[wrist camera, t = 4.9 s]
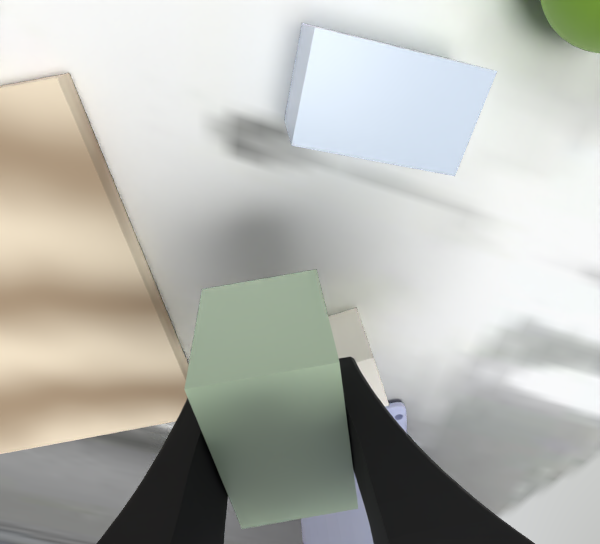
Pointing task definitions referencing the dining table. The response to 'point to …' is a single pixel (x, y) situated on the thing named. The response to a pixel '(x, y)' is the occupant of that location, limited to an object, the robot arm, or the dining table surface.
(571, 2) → the snail figurine
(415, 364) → the dining table surface
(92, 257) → the birch board
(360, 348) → the ivory brick
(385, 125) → the blue brick
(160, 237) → the dining table surface
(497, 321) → the dining table surface
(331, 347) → the green brick
